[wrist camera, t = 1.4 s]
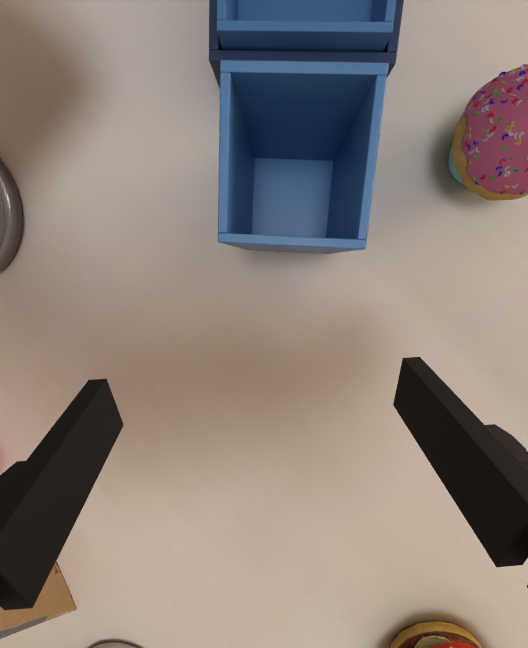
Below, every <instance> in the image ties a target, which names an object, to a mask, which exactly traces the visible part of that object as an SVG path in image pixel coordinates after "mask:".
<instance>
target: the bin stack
mask: <svg viewBox="0 0 528 648" xmlns="http://www.w3.org/2000/svg"><path fill="white" fill-rule="evenodd" d="M403 2H404V0H210V1H209V61H210V64H211V66H212V69H213V72H214V74H215V77H216V80H217V82H218V85H219V88H220V74H221V71H220V64H221V60H231V61H293V62H355V63H388V64H389V65H388V73H387V77H388V75H389V74H390V72H391V70H392V68H393V67H394V65H395V63H396V56H397V48H398V40H399V33H400V25H401V17H402V9H403Z"/></svg>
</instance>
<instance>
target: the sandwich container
mask: <svg viewBox="0 0 528 648" xmlns="http://www.w3.org/2000/svg"><path fill="white" fill-rule="evenodd" d="M74 610H76V607H75V605H74V602H73V600H72V597H71V595H70V593H69V590H68V588H67V586H66V583H65V581H64V579H63V576H62V574H61V571H60V570H59V568H58V566H57V564H56V562H55V564H54V566H53V568H52V570H51V572H50V574H49V576H48V578H47V580H46V582H45V584H44V586H43V588H42V590H41V592H40V594H39V596H38V598H37V600H36V602H35V604H34V606H33V608H28V609H16V610H5V611H4V610H3V609H2V608H1V607H0V639H1V638H4V637H6V636H9V635H11V634H14V633H16V632H19V631H21V630H24V629H26V628H29V627H32V626H34V625H37V624H39V623H42V622H45V621H47V620H50V619H53V618H55V617H58V616H61V615H63V614H66V613H69V612H71V611H74Z"/></svg>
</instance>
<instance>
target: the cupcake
mask: <svg viewBox="0 0 528 648" xmlns="http://www.w3.org/2000/svg"><path fill="white" fill-rule="evenodd" d="M502 73H503V74H502ZM502 73H500V74H499V76H498V77H496V78H494V79H493V80H492V81H490V82H489V83H487V84H486V85H484V86H483V87H481V88H480V89H479V90H478V91H477V92H476V93H475V94H474V96H473V97H472V98H471V100H470V101H469V103H468V104H467V106H466V109H465V112H464V113H463V115H462V117H461V119H460V120H459V122H458V124H457V126H456V129H455V131H454V134H453V145H452V147H451V150H450V153H449V158H448V163H449V169H450V172H451V174H452V175H453V177H454V178H455V179H456V180H457V181H458V182H460V183H462V184H463V185H464V186H465V187H466V188H467V189H469V190H471V191H472V192H474V193H476V194H478V195H479V196H481V197H483V198H485V199H487V200H512V199H518V198H521V197H524V196H526V195H528V64H524V65H521V67H519V68H516V69H513V70H511V71H509V72H502ZM501 74H502V75H501Z"/></svg>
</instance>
